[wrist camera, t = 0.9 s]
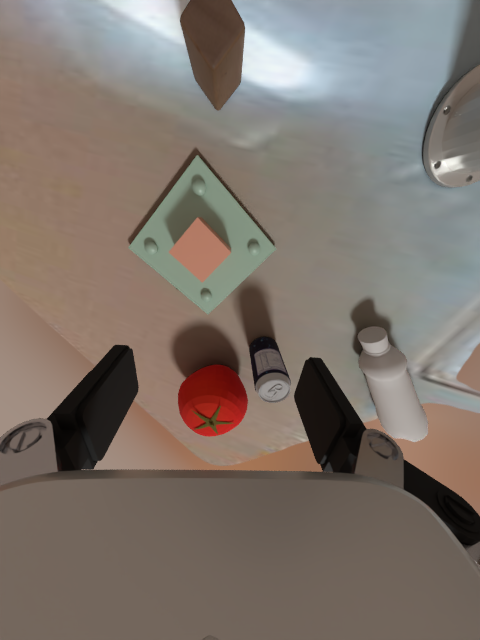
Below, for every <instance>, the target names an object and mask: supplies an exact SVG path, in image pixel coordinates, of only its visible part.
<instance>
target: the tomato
mask: <svg viewBox="0 0 480 640" xmlns="http://www.w3.org/2000/svg"><path fill="white" fill-rule="evenodd" d="M247 403H248V399H247V394H246V391H245V388H244V386H243V384H242V382H241V380H240V378H239V376H238V375H237V373H236V372H234V371H233V370H232V369H230V368H229V367H226V366H224V365H210V366H207V367H204V368H201V369H199V370H198V371H196V372H194V373H193V374H191V375H190V376H189V377H187V378H186V380H185V381H184V382H183V383H182V384H181V387H180V389H179V393H178V405H179V411H180V415H181V417H182V419H183V421H184V422H185V424H186V425H187V426H188V427H189V428H190V429H192V430H193V431H194V432H196V433H198V434H200V435H203V436H217V435H221V434H224V433H226V432H228V431H230V430H232V429H233V428H235V427H236V426H237V425H238V424H239V423H240V422H241V421H242V419H243V418H244V415H245V413H246V410H247Z"/></svg>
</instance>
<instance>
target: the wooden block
mask: <svg viewBox="0 0 480 640" xmlns="http://www.w3.org/2000/svg"><path fill="white" fill-rule="evenodd" d="M180 23H181V27H182V30H183V34H184V38H185V42H186V46H187V50H188V54H189V58H190V62H191V66H192V70H193V74H194V77H195V80H196V82H197V83H198V85H199V86H200V87H201V89H202V90H203V92H204V93H205V95H206V96H207V98H208V99H209V100H210V102H211V103H212V105H213V106H214V108H215V109H216V110H220V109H221V108H222V106H223V105H224V104H225V103H226V101H227V100H228V99H229V98H230V96H231V95H232V94H233V92H234V91H235V90H236V89H237V87H238V86H239V85H240V82H241V73H242V61H243V48H244V36H245V26H244V22H243V20H242V18H241V17H240V15H239V13H238V11H237V9H236V8H235V6H234V4H233V2H232V1H231V0H190V2H189V3H188V5H187V6H186V8H185V10H184V11H183V13H182V15H181V18H180Z"/></svg>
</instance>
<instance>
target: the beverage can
mask: <svg viewBox="0 0 480 640" xmlns="http://www.w3.org/2000/svg"><path fill="white" fill-rule="evenodd" d="M249 351H250V358H251V364H252V371H253V378H254V385H255V390H256V392H257V393H258V394H259V397H260V398H261V399H262V400H263V401H265V402H269V403H276V402H280V401H282V400H284V399H285V398H287V396H288V395H289V393H290V385H291V381H290V378H289V375H288V373H287V370H286V367H285V365H284V362H283V359H282V357H281V354H280V351H279V348H278V346H277V343H276V342H275V340H273V339H272V338H269V337H260V338H257V339H255V340H254V341H253V342H252V343H251V345H250V348H249Z"/></svg>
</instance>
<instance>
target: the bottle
mask: <svg viewBox="0 0 480 640" xmlns="http://www.w3.org/2000/svg"><path fill="white" fill-rule="evenodd" d="M358 339H359V341H360V343H361V345H362V346H363V347H362V348H363V351H362V352H361V355H360V358H359V361H358V363H359V367H360V368H361V370H362V371H363V372H364V373H365V374H366V379H367V383H368V386H369V389H370V392H371V395H372V398H373V401H374V404H375V407H376V412H377V416H378V418H379V420H380V422H381V425H382V427H383V428H384V429H385V431H386V432H387V433H388V434H389V435H391V436H392V437H394V438H403V439H407V440H410V441H413V442H416V441H419V440H422V439H424V437H425V436H426V435H427V434H428V428H427V427H428V421H427V418H426V414H425V411H424V409H423V407H422V406H421V404H420V402H419V399H418V397H417V394H416V391H415V389H414V386H413V383H412V381H411V378H410V376H409V373H408V371H407V370H406V367H407V359H406V357H405V355H404V354H403V353H402V352H400V351H399V350H398V349H396V348H395V347H394V346H391V345H390V343H389V342H388V338H387V332H386V330H385V329H383V328H381V327H377V326H374V327H367V328H365V329H363V330H361V331H360V332H359V334H358Z"/></svg>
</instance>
